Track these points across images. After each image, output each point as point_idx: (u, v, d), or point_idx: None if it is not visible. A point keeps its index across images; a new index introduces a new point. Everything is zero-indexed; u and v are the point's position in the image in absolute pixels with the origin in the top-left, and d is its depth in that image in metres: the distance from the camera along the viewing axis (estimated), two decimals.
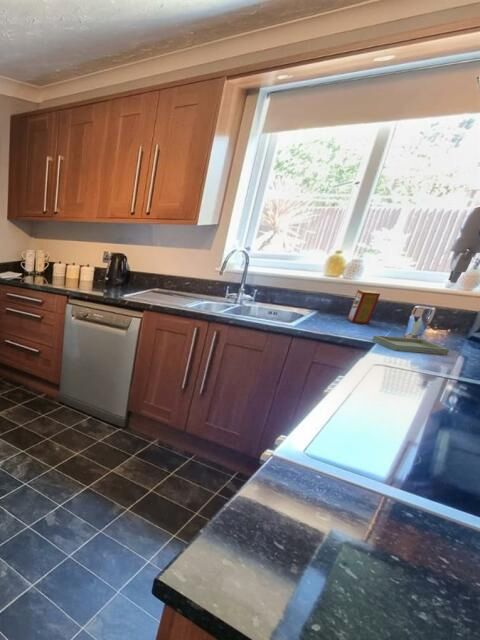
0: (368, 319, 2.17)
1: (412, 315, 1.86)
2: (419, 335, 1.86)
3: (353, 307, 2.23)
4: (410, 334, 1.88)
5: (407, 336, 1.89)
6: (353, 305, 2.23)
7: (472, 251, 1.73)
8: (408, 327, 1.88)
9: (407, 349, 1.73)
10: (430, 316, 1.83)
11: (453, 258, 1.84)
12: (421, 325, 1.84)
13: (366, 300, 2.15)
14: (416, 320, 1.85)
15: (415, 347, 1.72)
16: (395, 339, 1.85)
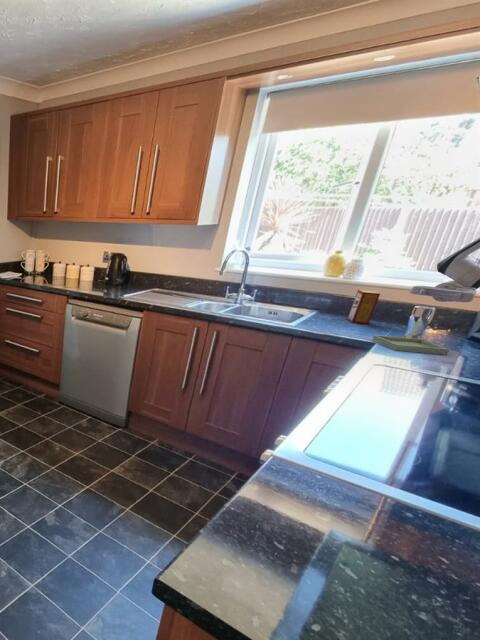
0: (368, 319, 2.17)
1: (412, 315, 1.86)
2: (419, 335, 1.86)
3: (353, 307, 2.23)
4: (410, 334, 1.88)
5: (407, 336, 1.89)
6: (353, 305, 2.23)
7: (434, 287, 1.98)
8: (408, 327, 1.88)
9: (407, 349, 1.73)
10: (430, 316, 1.83)
11: None
12: (421, 325, 1.84)
13: (366, 300, 2.15)
14: (416, 320, 1.85)
15: (415, 347, 1.72)
16: (395, 339, 1.85)
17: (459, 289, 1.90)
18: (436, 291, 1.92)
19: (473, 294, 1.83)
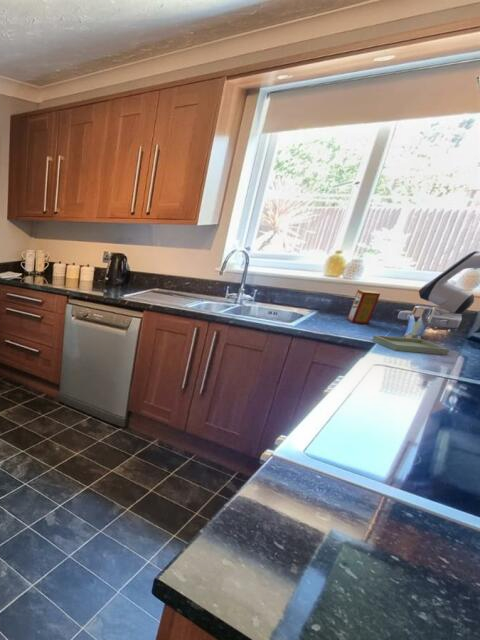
0: (368, 319, 2.17)
1: (412, 315, 1.86)
2: (419, 335, 1.86)
3: (353, 307, 2.23)
4: (410, 334, 1.88)
5: (407, 336, 1.89)
6: (353, 305, 2.23)
7: None
8: (408, 327, 1.88)
9: (407, 349, 1.73)
10: (430, 316, 1.83)
11: None
12: (421, 325, 1.84)
13: (366, 300, 2.15)
14: (416, 320, 1.85)
15: (415, 347, 1.72)
16: (395, 339, 1.85)
17: (445, 315, 1.92)
18: None
19: (458, 321, 1.85)
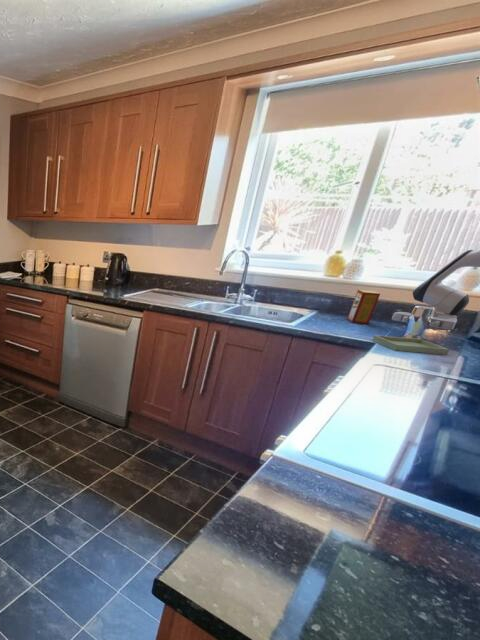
0: (368, 319, 2.17)
1: (412, 315, 1.86)
2: (419, 335, 1.86)
3: (353, 307, 2.23)
4: (410, 334, 1.88)
5: (407, 336, 1.89)
6: (353, 305, 2.23)
7: None
8: (408, 327, 1.88)
9: (407, 349, 1.73)
10: (430, 316, 1.83)
11: None
12: (421, 325, 1.84)
13: (366, 300, 2.15)
14: (416, 320, 1.85)
15: (415, 347, 1.72)
16: (395, 339, 1.85)
17: (440, 317, 1.88)
18: None
19: (454, 323, 1.81)
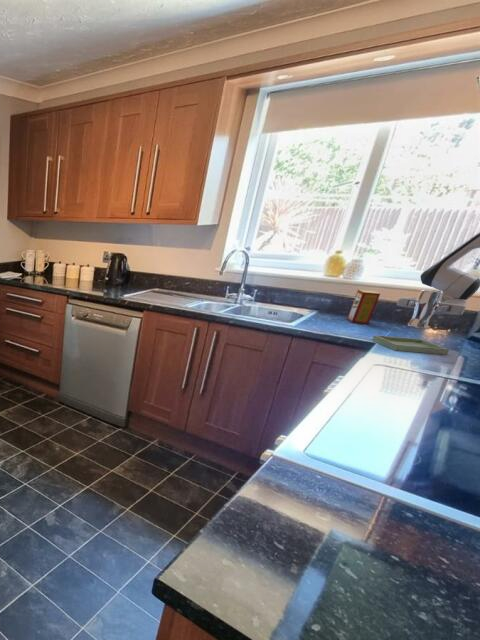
0: (368, 319, 2.17)
1: (418, 299, 1.76)
2: (426, 321, 1.76)
3: (353, 307, 2.23)
4: (416, 319, 1.77)
5: (413, 322, 1.78)
6: (353, 305, 2.23)
7: None
8: (414, 312, 1.78)
9: (407, 349, 1.73)
10: (438, 300, 1.72)
11: None
12: (428, 310, 1.74)
13: (366, 300, 2.15)
14: (423, 305, 1.74)
15: (415, 347, 1.72)
16: (395, 339, 1.85)
17: (448, 301, 1.77)
18: None
19: (463, 307, 1.70)
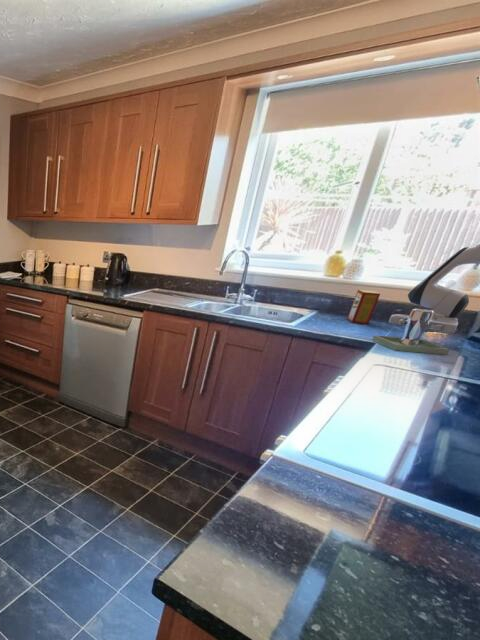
0: (368, 319, 2.17)
1: (409, 318, 1.76)
2: (417, 340, 1.76)
3: (353, 307, 2.23)
4: (407, 338, 1.77)
5: (404, 341, 1.78)
6: (353, 305, 2.23)
7: None
8: (405, 331, 1.78)
9: (407, 349, 1.73)
10: (428, 320, 1.72)
11: None
12: (419, 329, 1.74)
13: (366, 300, 2.15)
14: (414, 324, 1.74)
15: (415, 347, 1.72)
16: (395, 339, 1.85)
17: (440, 319, 1.77)
18: None
19: (454, 326, 1.70)
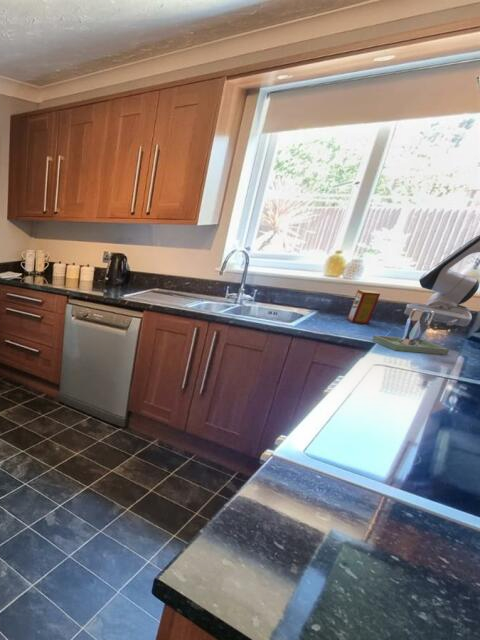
0: (368, 319, 2.17)
1: (409, 318, 1.76)
2: (417, 340, 1.76)
3: (353, 307, 2.23)
4: (407, 338, 1.77)
5: (404, 341, 1.78)
6: (353, 305, 2.23)
7: (427, 304, 1.89)
8: (405, 331, 1.78)
9: (407, 349, 1.73)
10: (428, 320, 1.72)
11: None
12: (419, 329, 1.74)
13: (366, 300, 2.15)
14: (414, 324, 1.74)
15: (415, 347, 1.72)
16: (395, 339, 1.85)
17: (453, 310, 1.82)
18: None
19: (469, 320, 1.76)
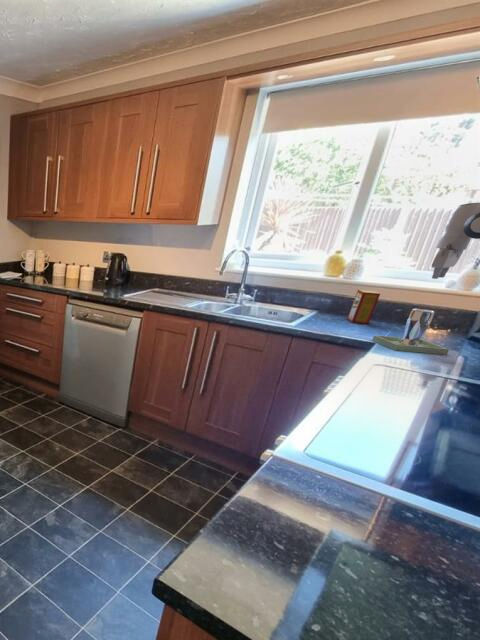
0: (368, 319, 2.17)
1: (409, 318, 1.76)
2: (417, 340, 1.76)
3: (353, 307, 2.23)
4: (407, 338, 1.77)
5: (404, 341, 1.78)
6: (353, 305, 2.23)
7: (453, 247, 1.75)
8: (405, 331, 1.78)
9: (407, 349, 1.73)
10: (428, 320, 1.72)
11: None
12: (419, 329, 1.74)
13: (367, 300, 2.15)
14: (414, 324, 1.74)
15: (415, 347, 1.72)
16: (395, 339, 1.85)
17: None
18: None
19: None
